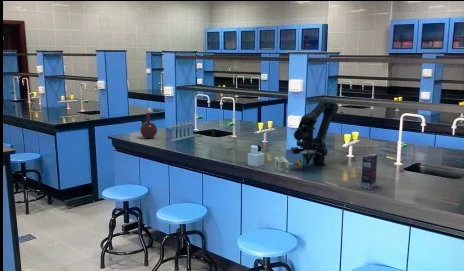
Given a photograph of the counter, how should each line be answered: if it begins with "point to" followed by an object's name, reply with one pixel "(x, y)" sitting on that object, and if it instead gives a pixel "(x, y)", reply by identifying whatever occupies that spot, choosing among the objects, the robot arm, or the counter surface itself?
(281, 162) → the block
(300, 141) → the robot arm
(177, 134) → the test tube rack
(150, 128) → the round-bottom flask
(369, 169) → the supplement box
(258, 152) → the medicine bottle
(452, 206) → the counter surface
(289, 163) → the pin
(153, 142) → the counter surface
